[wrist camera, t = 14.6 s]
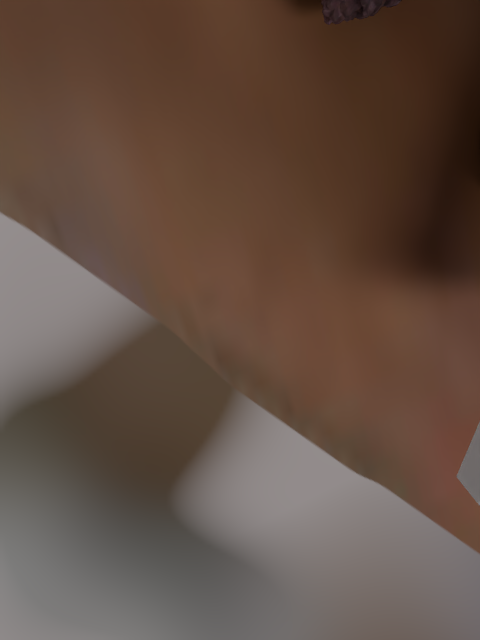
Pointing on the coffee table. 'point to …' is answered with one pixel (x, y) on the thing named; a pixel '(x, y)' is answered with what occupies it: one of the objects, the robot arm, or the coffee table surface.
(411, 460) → the coffee table surface
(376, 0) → the pine cone
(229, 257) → the coffee table surface
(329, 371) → the coffee table surface
